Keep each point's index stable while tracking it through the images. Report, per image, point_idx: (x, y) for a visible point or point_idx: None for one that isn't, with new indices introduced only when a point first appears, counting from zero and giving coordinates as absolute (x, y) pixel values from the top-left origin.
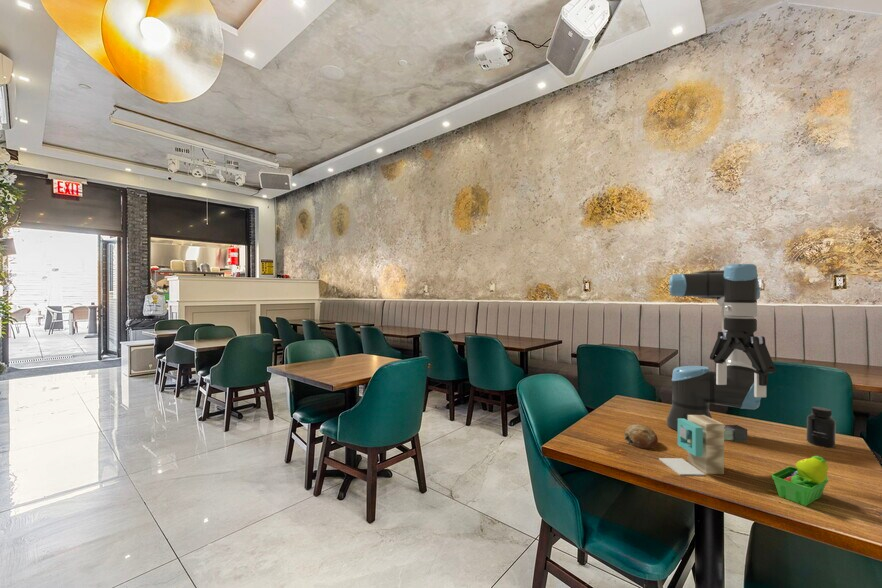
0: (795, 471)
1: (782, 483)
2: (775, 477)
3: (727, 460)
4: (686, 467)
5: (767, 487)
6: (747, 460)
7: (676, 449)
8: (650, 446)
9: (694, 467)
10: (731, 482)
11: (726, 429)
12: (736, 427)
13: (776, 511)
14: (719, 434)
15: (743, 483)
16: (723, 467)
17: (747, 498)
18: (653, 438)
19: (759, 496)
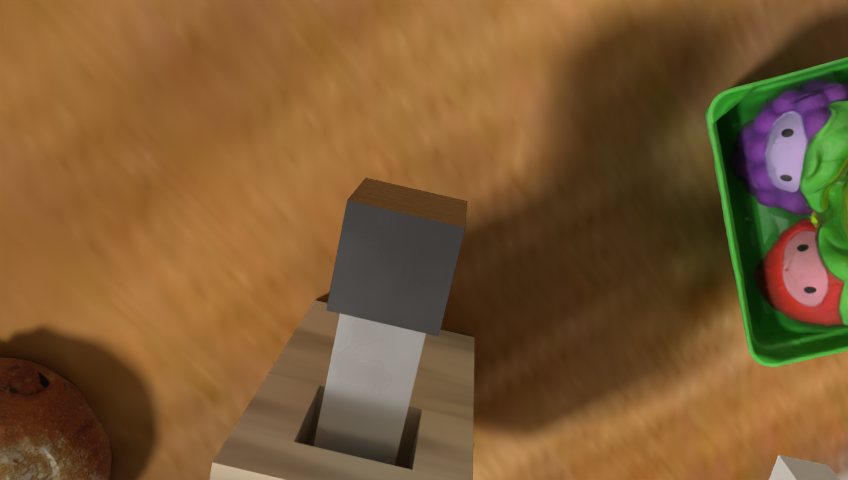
0: (782, 171)
1: (799, 339)
2: (780, 365)
3: (328, 142)
4: None
5: (654, 255)
6: (350, 4)
7: (138, 313)
8: (108, 459)
9: None
10: (559, 385)
11: (400, 371)
12: (402, 274)
13: (825, 445)
14: None
15: (584, 335)
16: (473, 355)
17: (701, 459)
18: (74, 461)
19: (706, 388)
